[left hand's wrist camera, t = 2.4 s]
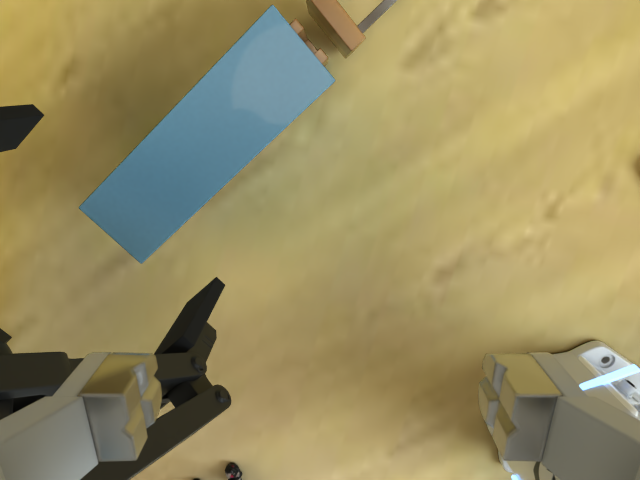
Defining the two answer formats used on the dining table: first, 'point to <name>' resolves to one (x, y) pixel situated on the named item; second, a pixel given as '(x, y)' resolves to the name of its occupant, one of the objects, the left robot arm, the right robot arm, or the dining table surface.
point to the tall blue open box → (209, 136)
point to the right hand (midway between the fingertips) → (121, 215)
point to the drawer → (338, 26)
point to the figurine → (232, 472)
